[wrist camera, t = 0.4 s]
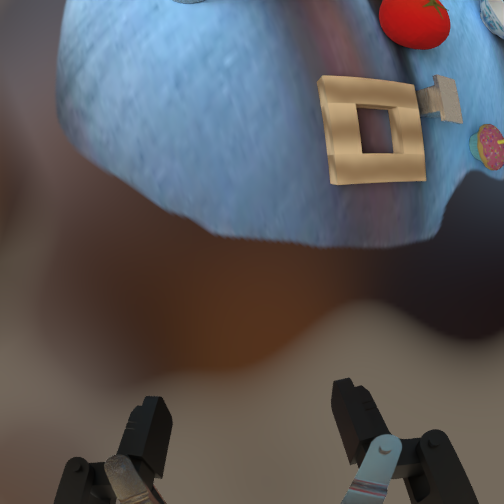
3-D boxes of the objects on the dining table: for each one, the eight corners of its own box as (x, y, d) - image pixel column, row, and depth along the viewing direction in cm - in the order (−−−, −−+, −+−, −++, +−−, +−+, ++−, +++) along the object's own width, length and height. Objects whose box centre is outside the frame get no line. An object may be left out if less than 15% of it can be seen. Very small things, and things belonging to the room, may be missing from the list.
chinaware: (460, -9, 21) (477, -18, 14) (492, 10, 21) (508, 4, 14) (483, 39, 26) (503, 32, 18) (511, 55, 25) (530, 51, 18)
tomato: (413, 71, 30) (461, 50, 18) (359, 33, 29) (396, -3, 16) (425, 33, 28) (466, 11, 15) (376, -2, 26) (409, -35, 14)
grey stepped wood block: (409, 84, 31) (436, 74, 24) (427, 88, 31) (454, 79, 24) (416, 124, 33) (445, 120, 26) (433, 126, 33) (462, 123, 26)
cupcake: (457, 144, 34) (505, 145, 23) (471, 115, 32) (516, 112, 21) (478, 177, 36) (523, 185, 24) (491, 148, 34) (534, 151, 22)
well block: (316, 81, 31) (322, 75, 29) (403, 88, 31) (413, 85, 29) (330, 183, 36) (337, 184, 33) (415, 179, 36) (426, 180, 33)
